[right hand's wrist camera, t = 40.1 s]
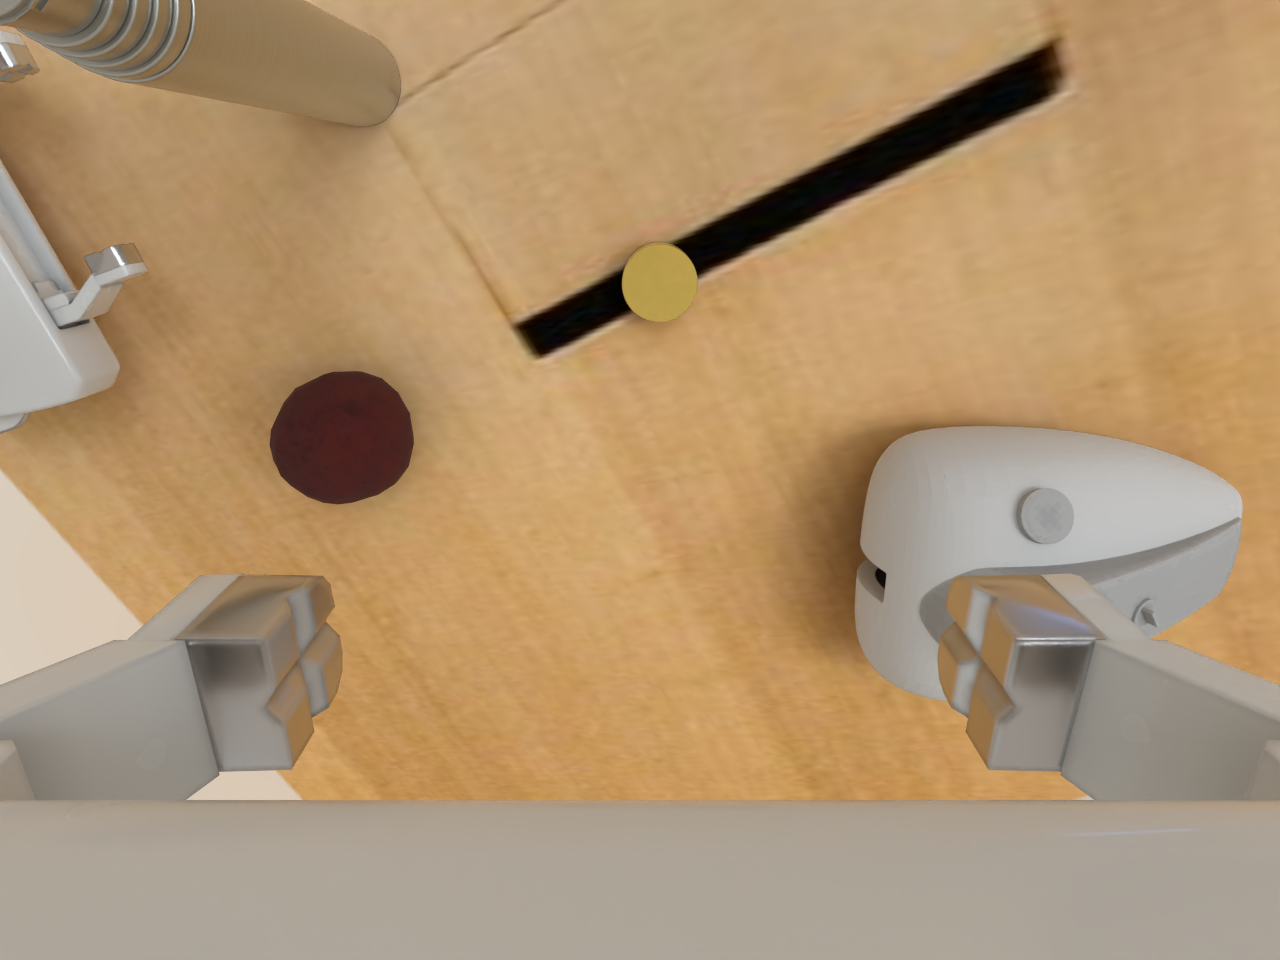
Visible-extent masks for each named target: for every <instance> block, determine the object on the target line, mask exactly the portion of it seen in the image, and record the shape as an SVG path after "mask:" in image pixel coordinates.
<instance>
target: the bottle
mask: <svg viewBox="0 0 1280 960" xmlns="http://www.w3.org/2000/svg"><path fill="white" fill-rule="evenodd" d="M0 26H9V27H14V28H16V29H17V30H18V31H19V32H21V33H22V34H24V35H26V36H27V37H29V38H31V39H33V40H35V41H37V42H39V43H40V44H42V45H43V46H45V47H46V48H48V49H50V50H52V51H54V52H56V53H58V54H59V55H61V56H62V57H64V58H66V59H68V60H70V61H72V62H74V63H76V64H77V65H79V66H81V67H83V68H85V69H87V70H89V71H91V72H94V73H97V74H100V75H103V76H105V77H107V78H110V79H113V80H116V81H121V82H126V83H131V84H136V85H142V86H147V87H152V88H157V89H163V90H168V91H173V92H179V93H184V94H189V95H194V96H200V97H205V98H210V99H216V100H221V101H226V102H232V103H237V104H242V105H247V106H253V107H258V108H263V109H269V110H274V111H279V112H285V113H290V114H295V115H300V116H306V117H311V118H316V119H322V120H327V121H332V122H338V123H343V124H348V125H353V126H360V127H368V126H373V125H376V124H379V123H381V122H382V121H384V120H385V119H386V118H388V117H389V116H390V115H391V114H392V112H393V111H394V109H395V107H396V105H397V103H398V100H399V96H400V90H401V80H400V74H399V70H398V67H397V64H396V62H395V60H394V58H393V56H392V55H391V53H390V52H389V51H388V49H387V48H386V47H385V46H384V45H383V44H382V43H381V42H380V41H378V40H377V39H375V38H374V37H372V36H370V35H368V34H366V33H364V32H363V31H361V30H359V29H357V28H355V27H353V26H351V25H349V24H348V23H346V22H344V21H342V20H340V19H338V18H336V17H335V16H333V15H331V14H329V13H327V12H325V11H323V10H321V9H320V8H318V7H316V6H314V5H312V4H310V3H308V2H306V1H305V0H0Z"/></svg>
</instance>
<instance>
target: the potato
mask: <svg viewBox="0 0 1280 960" xmlns="http://www.w3.org/2000/svg"><path fill="white" fill-rule="evenodd" d="M270 448H271V452H272V457H273V460H274V462H275V464H276V466H277V468H278V470H279V473H280V475H281V476H282V477H283V478H284V479H285V480H286V481H287V482H288V483H289V484H290V485H291V486H292V487H294V488H295V489H297V490H298V491H300V492H301V493H303V494H304V495H306V496H307V497H310V498H312V499H315V500H318V501H320V502H323V503H331V504H344V503H352V502H356V501H359V500H362V499H365V498H368V497H372V496H375V495H378V494H380V493H381V492H383V491H384V490H386V489H388V488H389V487H391V486H392V485H394V484H395V483H396V482H397V481H398V480H399V479H400V477H401V476H402V475H403V473H404V472H405V470H406V469H407V468H408V466H409V462H410V458H411V453H412V449H413V431H412V425H411V419H410V413H409V411H408V410H407V408H406V406H405V404H404V403H403V401H402V399H401V397H400V396H399V394H398V392H397V391H395V390H394V389H393V388H392V387H391V386H390V385H389V384H388V383H386V382H385V381H384V380H383V379H382V378H379V377H376V376H373V375H370V374H367V373H364V372H357V371H355V372H331V373H328V374H324V375H322V376H320V377H318V378H316V379H314V380H312V381H310V382H308V383H306V384H304V385H302V386H299V387H297V388H296V389H295V390H294V391H293V392H292V393H291V395H290V396H289V397H288V398H287V400H286V401H285V402H284V404H283V406H282V408H281V410H280V412H279V414H278V416H277V418H276V420H275V423H274V425H273V427H272V429H271V438H270Z"/></svg>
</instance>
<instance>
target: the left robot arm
mask: <svg viewBox="0 0 1280 960" xmlns="http://www.w3.org/2000/svg"><path fill="white" fill-rule="evenodd" d="M39 71H40V70H39V68H38V66H37V64H36V62H35V61H34V59H33V57H32V55H31V53H30V51H29V49H28V48H27V46H26V44H25V42H24V40H23V38H22V36H21V35H19V34H14V33H10V32H6V31H2V30H1V31H0V81H1V82H7V83H14V82H16V81H19V80H21V79H24V77H25V74H29V75H34V74H36V73H38V72H39ZM84 259H85V261H86V263H87V265H88V267H89V268H90V270H91V272H92V274H91V275H90V276H89V278H88V279H87V281H86V282H85V284H84V285H83V287H82V288H81V289H80V290H77V289H76V288H75V286H74V284H73V282H72V281H71V279H70V277H69V276H68V274H67V272H66V271H65V269H64V267H63V265H62V264H61V262H60V260H59V259H58V257H57V255H56V253H55V252H54V250H53V248H52V247H51V245H50V243H49V242H48V240H47V238H46V236H45V235H44V233H43V231H42V230H41V228H40V226H39V224H38V223H37V221H36V219H35V217H34V216H33V214H32V212H31V211H30V209H29V207H28V205H27V204H26V202H25V200H24V199H23V197H22V195H21V194H20V192H19V190H18V188H17V187H16V185H15V183H14V182H13V180H12V178H11V176H10V175H9V173H8V171H7V170H6V168H5V166H4V164H3V163H2V161H1V159H0V434H1V433H4V432H7V431H9V430H12V429H15V428H18V427H20V426H22V425H23V424H24V423H25V422H26V421H27V420H28V418H29V417H30V415H31V412H34V411H39V410H44V409H48V408H52V407H56V406H59V405H63V404H67V403H70V402H73V401H76V400H79V399H81V398H84V397H87V396H90V395H93V394H96V393H98V392H101V391H103V390H106V389H108V388H110V387H112V386H113V385H114V383H115V380H116V378H117V376H118V374H119V371H120V364H119V361H118V360H117V358H116V356H115V354H114V353H113V351H112V349H111V347H110V346H109V344H108V342H107V341H106V339H105V337H104V336H103V334H102V332H101V330H100V329H99V327H98V325H97V324H96V322H95V320H94V317H96V316H99V315H102V314H104V313H107V312H108V311H109V309H110V307H111V305H112V304H113V302H114V300H115V299H116V297H117V295H118V293H119V292H120V290H121V288H122V287H123V285H124V284H123V282H124V281H127V280H129V279H132V278H135V277H137V276H140V275H143V274H146V273H148V272H149V270H148V268H147V266H146V264H145V262H144V261H143V259H142V257H141V255H140V254H139V252H138V250H137V248H136V246H135V244H134V243H129V244H126V245H125V244H120V245H115V246H112V247H108V248H106V249H103V251H102V252H95V253H92V254H90V255H87V256H84Z"/></svg>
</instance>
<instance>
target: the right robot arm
mask: <svg viewBox="0 0 1280 960" xmlns="http://www.w3.org/2000/svg"><path fill="white" fill-rule="evenodd" d="M334 607H335V605H334V600H333V596H332V591H331V586H330V583H329V582H328V581H327V580H326V579H325V578H324V577H323V576H302V575H245V574H213V575H200V576H199V577H198V578H197V579H196V580H195V581H193V582H192V583H191V584H190V585H189V586H188V587H187V588H185V589H184V590H183V591H182V592H181V593H180V594H179V595H178V596H176V597H175V598H174V599H173V600H172V601H171V602H170V603H168V604H167V605H166V606H165V607H164V608H163V609H162V610H161V611H159V612H158V613H157V614H156V615H155V616H154V617H153V618H152V619H150V620H149V621H148V622H147V623H146V624H145V625H144V626H142V627H141V628H140V629H139V630H138V631H137V632H136V633H135V634H133V635H132V636H131V637H130V638H129V639H128V640H113V641H111V642H108V643H106V644H103V645H101V646H98V647H96V648H93V649H91V650H88V651H85V652H83V653H80V654H78V655H75V656H73V657H70V658H68V659H65V660H63V661H60V662H57V663H55V664H52V665H50V666H47V667H45V668H42V669H40V670H37V671H35V672H32V673H30V674H27V675H25V676H22V677H20V678H17V679H15V680H12V681H9V682H7V683H4V684H2V685H0V960H1280V685H1278V684H1275V683H1273V682H1270V681H1268V680H1265V679H1263V678H1260V677H1258V676H1255V675H1253V674H1250V673H1248V672H1245V671H1243V670H1240V669H1238V668H1235V667H1232V666H1230V665H1227V664H1225V663H1222V662H1220V661H1217V660H1215V659H1212V658H1210V657H1207V656H1205V655H1202V654H1200V653H1197V652H1195V651H1192V650H1190V649H1187V648H1184V647H1182V646H1179V645H1177V644H1174V643H1172V642H1169V641H1167V640H1152V639H1151V638H1150V637H1149V636H1148V635H1147V634H1146V633H1144V632H1143V631H1142V630H1141V629H1140V628H1139V627H1138V626H1137V625H1135V624H1134V623H1133V622H1132V621H1131V620H1130V619H1129V618H1127V617H1126V616H1125V615H1124V614H1123V613H1122V612H1121V611H1120V610H1118V609H1117V608H1116V607H1115V606H1114V605H1113V604H1112V603H1111V602H1109V601H1108V600H1107V599H1106V598H1105V597H1104V596H1103V595H1102V594H1100V593H1099V592H1098V591H1097V590H1096V589H1095V588H1094V587H1092V586H1091V585H1090V584H1089V583H1088V582H1087V581H1086V580H1085V579H1083V578H1082V577H1081V576H1078V575H1074V574H1071V573H1070V574H1047V575H1039V574H1029V575H987V576H961V577H955V578H954V579H953V581H952V583H951V585H950V587H949V589H948V594H947V600H946V605H945V607H946V609H947V610H948V612H949V613H950V615H951V616H952V618H953V620H954V622H953V623H952V624H951V625H950V626H949V627H948V629H947V630H946V631H945V632H944V633H943V634H942V635H941V636H940V641H939V648H938V656H937V662H938V673H939V680H940V684H941V687H942V690H943V693H944V695H945V697H946V699H947V701H948V702H949V704H950V706H951V708H953V709H955V710H956V711H958V712H960V713H961V714H963V715H964V716H966V717H968V721H967V727H966V733H967V735H968V736H969V738H970V740H971V741H972V743H973V745H974V746H975V748H976V750H977V751H978V753H979V755H980V756H981V758H982V760H983V761H984V763H985V765H986V766H987V768H988V770H1016V771H1054V772H1061V774H1060V775H1061V776H1063V777H1064V778H1065V779H1067V780H1068V781H1070V782H1071V783H1072V784H1074V785H1075V786H1076V787H1078V788H1079V789H1080V790H1082V791H1083V792H1084V793H1086V794H1087V795H1089V796H1090V797H1091V798H1093V799H1094V800H186V799H188V798H189V797H190V796H192V795H193V794H194V793H196V792H197V791H198V790H200V789H201V788H203V787H204V786H205V785H207V784H208V783H209V782H211V781H212V780H213V779H215V778H216V777H218V776H219V772H226V771H262V770H292V768H293V766H294V765H295V763H296V761H297V760H298V758H299V756H300V755H301V753H302V751H303V750H304V748H305V746H306V745H307V743H308V741H309V740H310V738H311V736H312V735H313V733H314V727H313V721H312V717H314V716H316V715H317V714H319V713H321V712H322V711H324V710H325V709H327V708H329V706H330V704H331V702H332V700H333V699H334V697H335V695H336V693H337V691H338V686H339V682H340V678H341V674H342V647H341V640H340V636H339V635H338V634H337V633H336V632H335V631H334V630H333V629H332V627H331V626H330V625H329V624H328V623H327V622H326V620H327V618H328V616H329V615H330V613H331V612H332V610H333V609H334Z"/></svg>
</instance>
